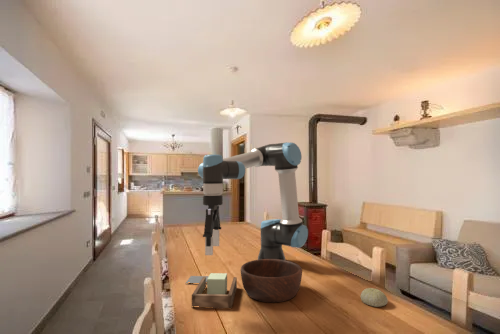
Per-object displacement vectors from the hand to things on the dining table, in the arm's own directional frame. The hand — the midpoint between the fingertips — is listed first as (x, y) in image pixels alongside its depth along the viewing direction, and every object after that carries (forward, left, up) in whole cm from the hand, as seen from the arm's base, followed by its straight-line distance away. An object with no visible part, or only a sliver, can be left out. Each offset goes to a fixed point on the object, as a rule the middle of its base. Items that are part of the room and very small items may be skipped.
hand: (212, 250), depth 111 cm
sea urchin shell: (-60, -1, -20) cm, 63 cm away
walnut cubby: (-1, -4, -19) cm, 19 cm away
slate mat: (+11, -21, -19) cm, 30 cm away
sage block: (-1, -7, -19) cm, 20 cm away
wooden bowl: (-22, -9, -19) cm, 31 cm away
